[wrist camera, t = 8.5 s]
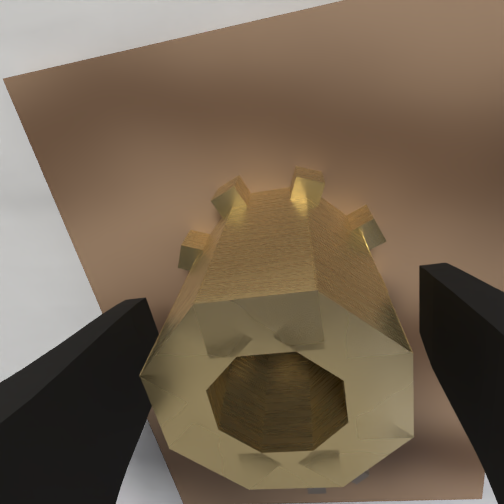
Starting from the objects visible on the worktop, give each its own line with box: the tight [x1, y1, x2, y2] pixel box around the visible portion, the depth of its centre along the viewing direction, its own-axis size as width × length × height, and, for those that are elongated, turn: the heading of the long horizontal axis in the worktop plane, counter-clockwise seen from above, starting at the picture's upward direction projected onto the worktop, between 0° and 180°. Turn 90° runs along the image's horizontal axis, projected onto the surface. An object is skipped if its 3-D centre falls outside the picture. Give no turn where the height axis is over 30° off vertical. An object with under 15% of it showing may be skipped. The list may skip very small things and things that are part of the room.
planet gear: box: [139, 166, 414, 490], centre depth 10 cm, size 6×6×6 cm
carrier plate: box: [3, 0, 504, 504], centre depth 13 cm, size 20×14×4 cm
